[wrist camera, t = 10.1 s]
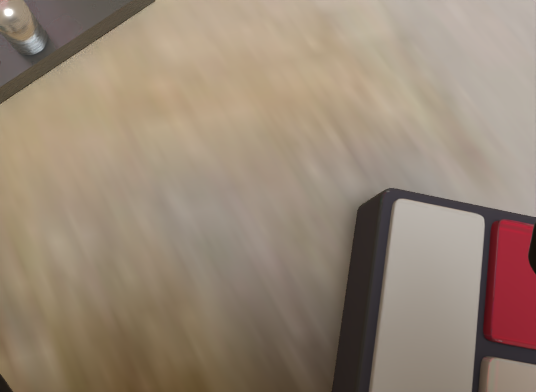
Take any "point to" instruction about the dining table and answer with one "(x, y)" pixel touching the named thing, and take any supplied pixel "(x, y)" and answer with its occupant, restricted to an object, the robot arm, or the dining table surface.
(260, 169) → the dining table surface
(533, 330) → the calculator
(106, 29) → the chassis plate
